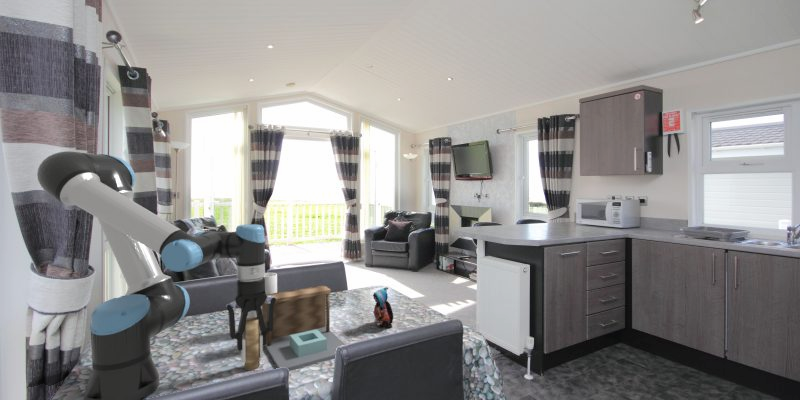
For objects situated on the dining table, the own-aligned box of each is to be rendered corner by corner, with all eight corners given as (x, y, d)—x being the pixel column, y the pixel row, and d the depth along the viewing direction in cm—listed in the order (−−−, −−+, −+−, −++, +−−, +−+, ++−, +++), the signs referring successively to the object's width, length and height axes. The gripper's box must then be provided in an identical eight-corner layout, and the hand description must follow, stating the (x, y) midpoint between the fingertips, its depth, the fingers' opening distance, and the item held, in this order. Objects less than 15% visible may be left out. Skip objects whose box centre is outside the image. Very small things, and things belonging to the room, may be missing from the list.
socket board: (280, 373, 100) (280, 357, 100) (261, 341, 120) (261, 328, 120) (351, 353, 112) (351, 339, 112) (323, 327, 132) (323, 315, 132)
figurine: (367, 323, 136) (367, 284, 136) (383, 319, 140) (383, 282, 140) (379, 332, 128) (380, 291, 127) (396, 328, 132) (396, 288, 131)
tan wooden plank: (266, 349, 114) (266, 300, 114) (262, 342, 120) (261, 295, 119) (331, 334, 126) (331, 289, 126) (324, 328, 132) (324, 285, 131)
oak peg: (246, 371, 101) (245, 323, 100) (243, 365, 104) (242, 318, 103) (260, 367, 103) (260, 320, 102) (257, 362, 106) (257, 315, 106)
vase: (274, 323, 136) (274, 271, 135) (279, 330, 130) (279, 275, 129) (242, 330, 129) (242, 275, 129) (246, 337, 123) (246, 280, 123)
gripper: (219, 285, 95) (221, 372, 96) (284, 277, 104) (285, 355, 105) (216, 279, 101) (217, 360, 102) (278, 271, 110) (278, 346, 111)
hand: (252, 358), depth 103 cm, fingers closed on oak peg, 4 cm apart
